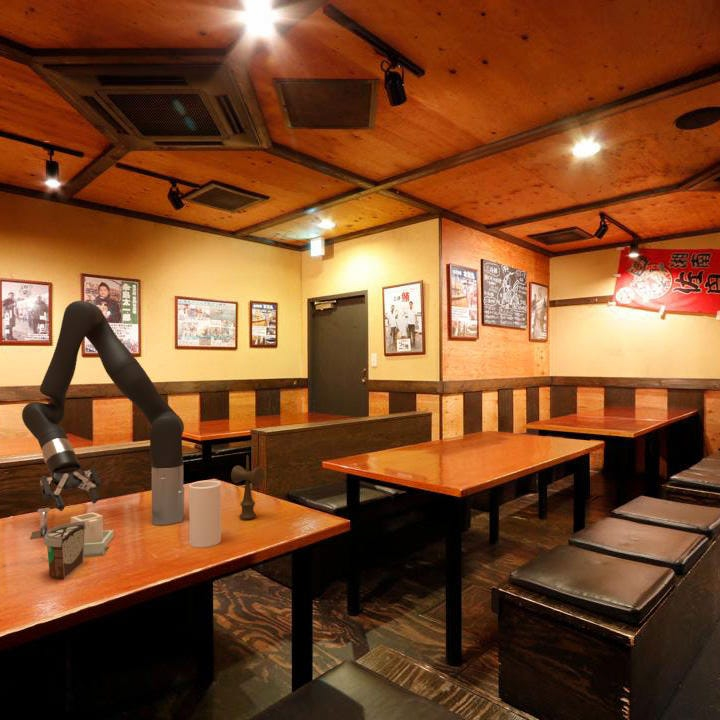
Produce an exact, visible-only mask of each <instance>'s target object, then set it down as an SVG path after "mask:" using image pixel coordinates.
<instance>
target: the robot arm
mask: <svg viewBox="0 0 720 720" xmlns="http://www.w3.org/2000/svg"><path fill="white" fill-rule="evenodd" d="M85 338H86V339H87V340H88V341H89V342H90V344H91V345H92V346H93V348H94V349H95V350H96V352H97V353H98V357H99V358H100V361H101V364H102V366H103V368H104V371H105V372H106V374H107V376H108V377H109V378H110V379H111V381H112V382H113V384H114V385H115V386H116V388H117V389H118V390H119V391H120V392H121V393H122V394H123V395H124V396H125V397H126V398H127V399H128V400H129V401H131V403H133V404H134V405H135V406H136V407H137V408H138V409H139V410H141V412H142V413H143V415H144V416H145V417H146V419H147V421H148V422H149V424H150V427H149V428H150V429H149V449H150V450H149V452H150V454H149V455H150V460H151V523H152V524H153V525H157V526H166V525H167V526H168V525H172V524H177V523H182V522H183V521H184V518H185V487H184V455H183V433H184V431H185V430H184V429H185V424H184V422H183V419H182V418H181V417H180V416H179V414H177V413H176V411H175V410H174V409H173V408H172V407H171V406H170V405H169V404H168V403H167V402H166V401H165V399H164V398H163V397H162V395H161V394H160V393H159V391H158V389H157V387H156V386H155V384H154V382H153V381H152V380H151V378H150V377H149V375H148V374H147V372H146V371H145V369H144V368H143V366H142V365H141V364H140V362H139V361H138V360H137V358H135V356H134V355H133V354H132V352H131V351H130V350H129V349H128V348H127V347H126V345H125V344H124V342H122V341H121V340H120V338H119V337H118V336H117V334H116V333H115V331H114V330H113V328H112V327H111V325H110V324H109V322H108V319H106V316H105V315H104V313H103V311H102V310H101V308H100V307H99V306H98V305H96V304H94V303H91V302H88V301H84V300H75V301H71V303H69V304H67V306H66V308H65V310H64V312H63V317H62V321H61V327H60V331H59V334H58V338H57V342H56V346H55V349H54V352H53V354H52V356H51V361H50V362H49V365H48V367H47V369H46V372H45V374H44V377H43V379H42V382H41V384H40V386H39V392H40V393H41V394H42V395H44V396H45V397H48V398H49V403H45V402H39V401H32V402H29V403H26V405H25V406H24V407H23V408H22V412H21V418H22V421H23V424H24V426H25V427H26V428H27V429H28V431H30V433H31V434H32V436H34V438H35V439H36V440H37V441H38V444H39V447H40V450H41V452H42V457H43V461H44V463H45V466H46V468H47V470H48V473H49V475H50V477H47V476H45V475H42V477H41V478H40V481H39V482H38V483H39V487H40V491H41V494H42V498H43V499H44V500H45V501H47V500H52V502H53V504H54V507H55V509H56V510H58V511H59V512H62V511H64V509H65V508H66V504H65V502H64V500H63V498H62V495H61V494H60V493H61V491H62V490H64V491H68V490H69V491H70V490H72V489H73V490H74V489H78V488H79V489H80V490H84V491H86V492H88V496H89V498H90V501H91V503H92V504H94V505H95V504H97V502H98V500H99V498H100V496H99V493H98V490H99V488H100V486H101V485H102V481H101V479H100V477H99V475H98V473H97V471H96V468H94V467H90V469H88V470H83V469H82V467H81V464H80V461H79V458H78V457H77V455H76V452H75V449H74V448H73V445H72V443H70V440H69V438H68V436H67V433H66V431H65V429H64V427H62V426H61V425H60V424H61V422H62V421H63V419H64V418H65V417H64V416H65V410H66V409H65V408H66V401H67V400H66V398H67V393H68V390H69V388H70V385H71V383H72V380H73V378H74V375H75V373H76V366H77V361H78V355H79V351H80V348H81V345H82V344H83V341H84V340H85ZM50 484H53V485H55V486H56V489H55V490H54V491H51V490H52V489H51V488H50Z"/></svg>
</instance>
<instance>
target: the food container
mask: <svg viewBox="0 0 720 720" xmlns="http://www.w3.org/2000/svg"><path fill="white" fill-rule="evenodd" d="M85 529H86V525H85V521H83V522H73V523H71V522H69V523H64V524H60V525H56V526H54V527H51V528H50V529H47V530H48V531H47V533H46V535H45V538H43V544H44V546H46V549H47V559H48V569H49V570H48V571H49V577H50V578H52V579H53V580H66V578H68V577H69V576H70V575H72V573H74V572H75V571H76V570H77V569H78V568H79V567H81V566H82V565H83V564H84V557H83V555H84V533H85Z"/></svg>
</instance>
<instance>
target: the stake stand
mask: <svg viewBox="0 0 720 720" xmlns="http://www.w3.org/2000/svg"><path fill="white" fill-rule="evenodd" d="M50 509H51V508H50V507H45V508H39V509H37V513H38V514H39V513H40V530H37V531H31V532H32V533H31V535H30V539H29V540H31V541H32V540H37V539H44V538H45V535H46V533H47V531H48V530H49V529H48V513H49V512H50V511H51V510H50Z"/></svg>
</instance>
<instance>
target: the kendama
mask: <svg viewBox="0 0 720 720" xmlns="http://www.w3.org/2000/svg"><path fill="white" fill-rule="evenodd" d="M245 459H246V461H245V462H246V463H245V466H246V467H245V468H244V467H243V466H241V465H235V466H233V468H232V469H231V473H230V478H231V481H232V483H234V484H236V483H240V482H242V481H244V482H245V483H244V493H243V498H242V501H241V502H240V506H241V513H240V514H239V515H238V517H239V519H240V520H243V521H244V520H248V521H249V520H253V519H255V518H256V517H257V514H256V512H255V510H254V507H255V505H256V502H255V501H254V499H253V496H252V489H251V484H252V485H253V486H255V487H261V486H262V484H263V483H264V480H265V469H264V467H262V466H258V467H256V468H254V469H253V470H250V457H249V455H248V454H247V455H246V458H245Z"/></svg>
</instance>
